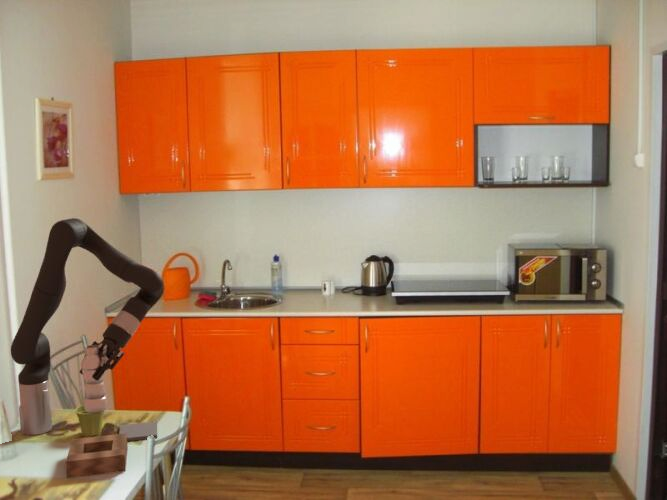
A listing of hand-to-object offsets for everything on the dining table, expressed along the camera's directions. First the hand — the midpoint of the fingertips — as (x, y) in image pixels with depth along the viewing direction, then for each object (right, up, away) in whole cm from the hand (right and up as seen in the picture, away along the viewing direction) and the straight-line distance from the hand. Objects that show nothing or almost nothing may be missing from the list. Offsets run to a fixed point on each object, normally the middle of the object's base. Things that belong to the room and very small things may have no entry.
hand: (88, 376), depth 197 cm
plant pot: (-9, -24, +27) cm, 37 cm away
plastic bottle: (+1, -11, +3) cm, 12 cm away
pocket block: (+1, -27, +5) cm, 27 cm away
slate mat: (+7, -24, +27) cm, 36 cm away
